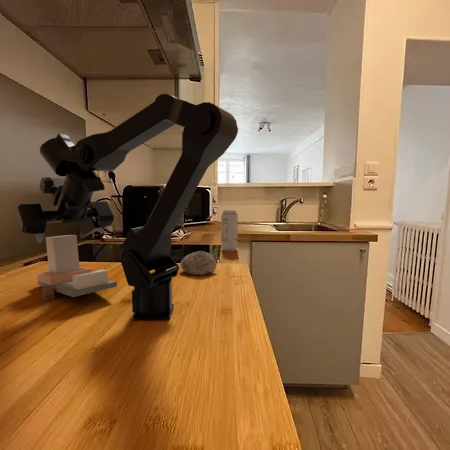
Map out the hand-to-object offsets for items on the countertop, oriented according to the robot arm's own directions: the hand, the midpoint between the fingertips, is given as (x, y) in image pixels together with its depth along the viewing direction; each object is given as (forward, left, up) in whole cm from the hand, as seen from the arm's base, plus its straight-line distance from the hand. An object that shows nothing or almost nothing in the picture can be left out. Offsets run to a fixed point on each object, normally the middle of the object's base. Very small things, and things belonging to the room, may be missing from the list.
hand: (60, 238), depth 71 cm
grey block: (-1, +1, -9) cm, 9 cm away
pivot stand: (-5, +5, -11) cm, 13 cm away
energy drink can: (-42, -41, -11) cm, 60 cm away
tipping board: (-5, +5, -10) cm, 12 cm away
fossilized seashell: (-32, -13, -11) cm, 37 cm away
